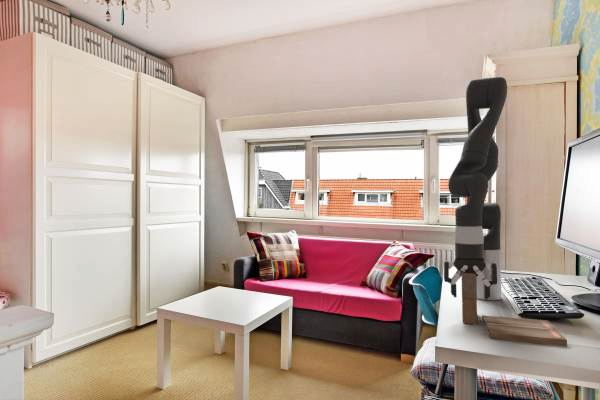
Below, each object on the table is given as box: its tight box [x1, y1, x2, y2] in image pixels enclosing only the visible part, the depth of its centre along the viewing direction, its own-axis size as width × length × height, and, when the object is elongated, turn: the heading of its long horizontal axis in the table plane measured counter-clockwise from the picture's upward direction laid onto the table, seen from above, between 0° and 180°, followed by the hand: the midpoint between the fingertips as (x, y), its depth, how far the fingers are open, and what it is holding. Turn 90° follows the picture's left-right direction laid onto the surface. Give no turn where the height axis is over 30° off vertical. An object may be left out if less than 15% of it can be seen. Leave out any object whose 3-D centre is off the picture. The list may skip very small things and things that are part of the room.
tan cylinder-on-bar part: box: [461, 273, 478, 326], centre depth 104 cm, size 4×11×18 cm, turn 153°
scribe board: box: [481, 314, 568, 347], centre depth 93 cm, size 14×16×2 cm
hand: (470, 297), depth 104 cm, fingers open, 7 cm apart
